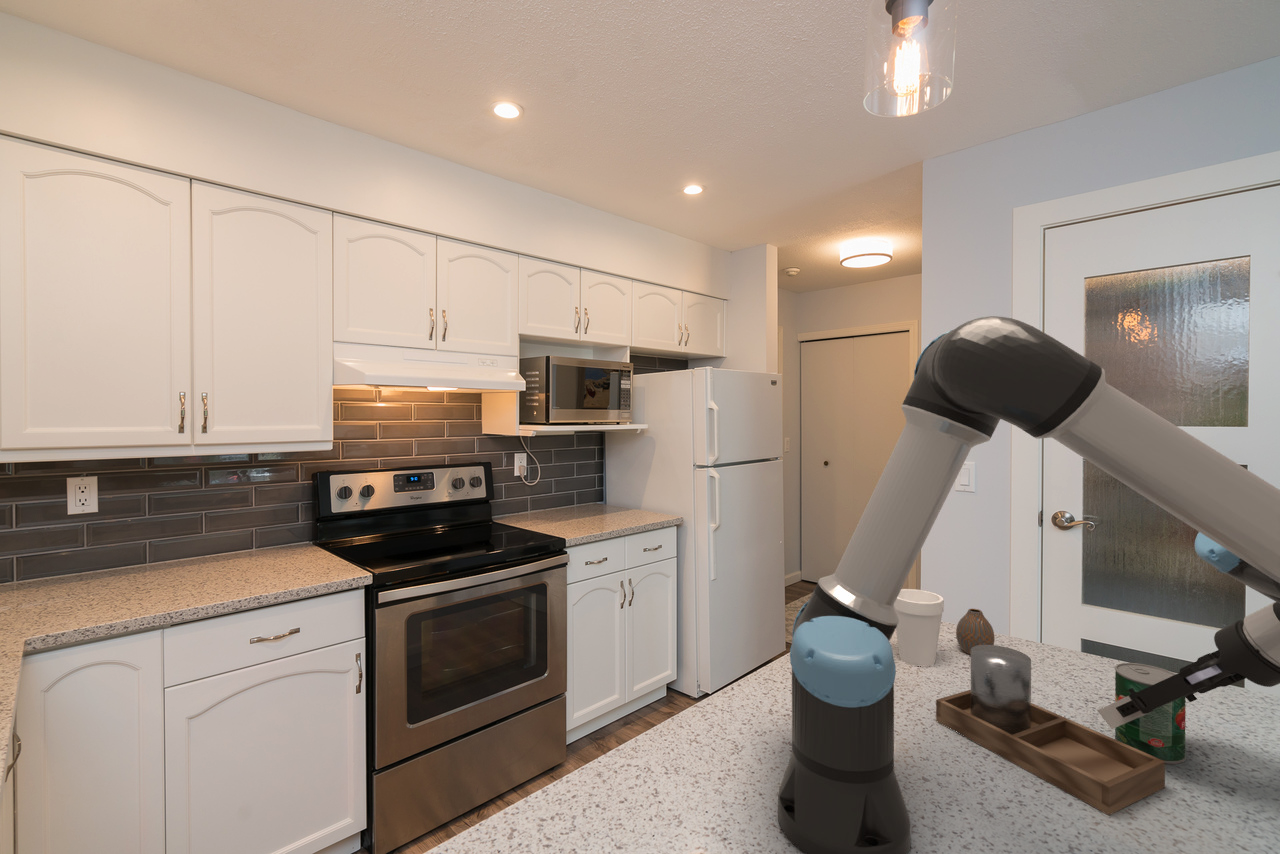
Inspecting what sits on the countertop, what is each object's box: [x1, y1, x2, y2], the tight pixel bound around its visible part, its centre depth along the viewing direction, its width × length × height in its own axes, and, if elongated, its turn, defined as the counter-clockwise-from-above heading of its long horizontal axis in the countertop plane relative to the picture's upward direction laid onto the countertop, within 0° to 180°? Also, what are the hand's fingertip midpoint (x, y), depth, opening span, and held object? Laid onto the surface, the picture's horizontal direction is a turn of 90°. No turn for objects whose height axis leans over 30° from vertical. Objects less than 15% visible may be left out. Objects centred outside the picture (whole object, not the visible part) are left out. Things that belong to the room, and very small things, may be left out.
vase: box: [955, 608, 996, 656], centre depth 121 cm, size 7×7×9 cm
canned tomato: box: [1114, 662, 1187, 765], centre depth 86 cm, size 8×8×11 cm
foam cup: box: [894, 588, 945, 668], centre depth 117 cm, size 10×9×13 cm
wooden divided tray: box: [935, 689, 1166, 816], centre depth 86 cm, size 24×13×4 cm, turn 24°
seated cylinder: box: [970, 644, 1032, 735], centre depth 91 cm, size 8×8×11 cm
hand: (1122, 712), depth 89 cm, fingers closed on canned tomato, 8 cm apart
